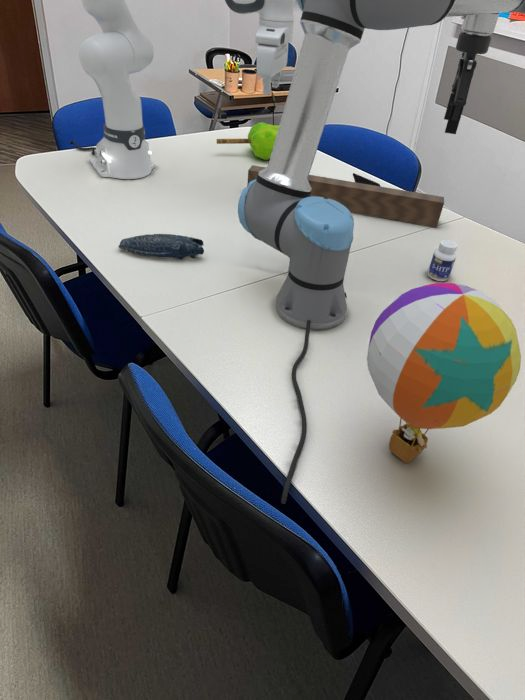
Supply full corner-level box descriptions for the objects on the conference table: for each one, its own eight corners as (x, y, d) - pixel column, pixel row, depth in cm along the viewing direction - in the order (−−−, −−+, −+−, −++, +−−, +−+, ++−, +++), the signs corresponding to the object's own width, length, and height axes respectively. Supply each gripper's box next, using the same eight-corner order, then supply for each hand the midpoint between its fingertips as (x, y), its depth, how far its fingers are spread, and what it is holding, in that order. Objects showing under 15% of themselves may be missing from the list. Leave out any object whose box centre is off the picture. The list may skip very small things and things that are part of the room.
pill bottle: (425, 278, 127) (436, 245, 122) (428, 268, 131) (438, 236, 126) (447, 283, 126) (459, 250, 120) (449, 273, 130) (460, 241, 124)
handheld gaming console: (396, 188, 169) (390, 167, 160) (387, 206, 167) (380, 186, 159) (365, 182, 175) (357, 162, 166) (355, 200, 174) (347, 180, 165)
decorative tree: (213, 119, 187) (294, 118, 192) (214, 148, 193) (292, 147, 198) (219, 133, 173) (306, 132, 178) (220, 165, 179) (303, 163, 185)
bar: (436, 221, 155) (444, 196, 150) (436, 227, 151) (444, 202, 147) (250, 189, 164) (252, 165, 159) (246, 194, 160) (248, 170, 156)
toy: (317, 443, 83) (351, 282, 64) (393, 393, 94) (441, 242, 75) (417, 530, 72) (494, 366, 53) (490, 462, 83) (575, 305, 64)
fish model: (201, 265, 124) (201, 246, 121) (115, 255, 125) (113, 236, 122) (206, 252, 129) (206, 234, 126) (124, 243, 130) (122, 224, 127)
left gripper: (273, 26, 143) (269, 82, 151) (253, 36, 127) (250, 97, 136) (295, 29, 142) (290, 84, 150) (278, 39, 126) (273, 100, 135)
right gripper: (458, 25, 134) (435, 112, 147) (462, 37, 115) (435, 137, 128) (488, 28, 133) (462, 116, 146) (497, 42, 114) (466, 141, 127)
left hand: (271, 90), depth 143 cm, fingers open, 8 cm apart
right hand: (449, 126), depth 137 cm, fingers open, 13 cm apart
